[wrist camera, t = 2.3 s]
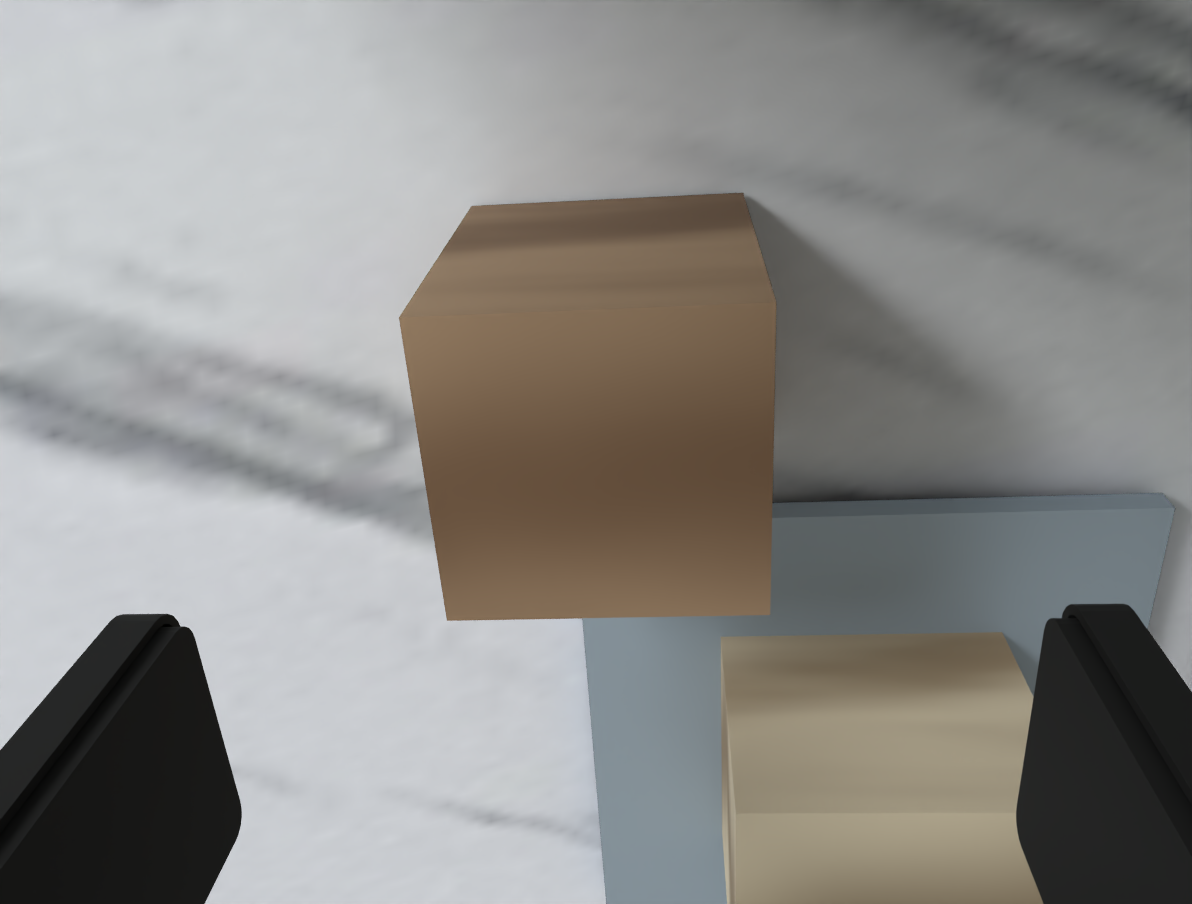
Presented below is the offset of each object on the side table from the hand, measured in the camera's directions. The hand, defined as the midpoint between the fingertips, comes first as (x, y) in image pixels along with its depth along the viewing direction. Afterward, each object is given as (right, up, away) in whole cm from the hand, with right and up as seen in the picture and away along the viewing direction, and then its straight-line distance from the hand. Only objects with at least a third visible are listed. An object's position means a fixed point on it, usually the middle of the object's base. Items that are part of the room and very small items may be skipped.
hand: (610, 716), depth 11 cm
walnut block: (0, +5, +9) cm, 10 cm away
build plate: (+6, -3, +13) cm, 14 cm away
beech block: (+6, -4, +12) cm, 14 cm away
